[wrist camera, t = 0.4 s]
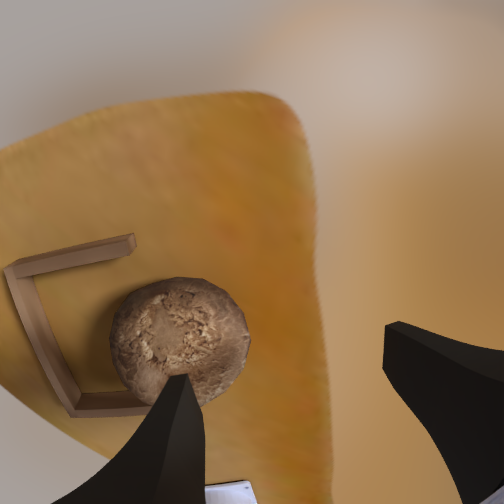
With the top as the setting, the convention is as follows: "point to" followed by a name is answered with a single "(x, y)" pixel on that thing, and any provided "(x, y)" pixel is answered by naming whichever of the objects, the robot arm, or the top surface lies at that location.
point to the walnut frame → (43, 335)
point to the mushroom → (179, 338)
